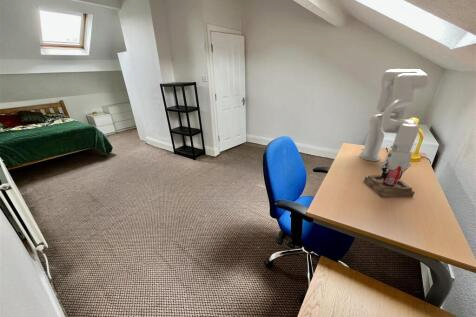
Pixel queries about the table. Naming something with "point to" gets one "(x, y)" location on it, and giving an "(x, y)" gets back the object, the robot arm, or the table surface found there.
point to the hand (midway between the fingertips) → (390, 177)
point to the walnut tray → (388, 187)
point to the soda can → (393, 176)
